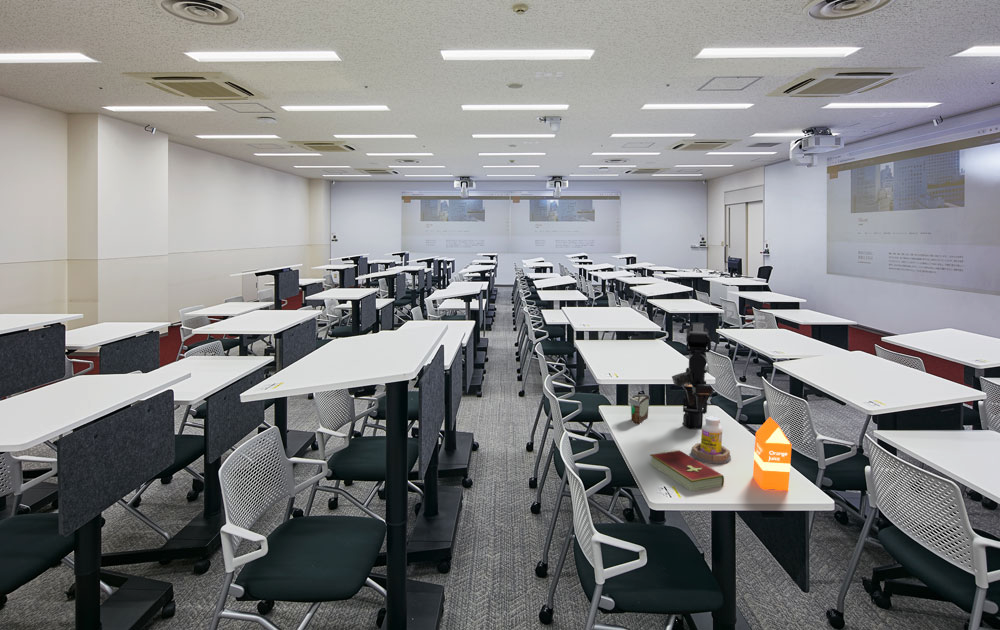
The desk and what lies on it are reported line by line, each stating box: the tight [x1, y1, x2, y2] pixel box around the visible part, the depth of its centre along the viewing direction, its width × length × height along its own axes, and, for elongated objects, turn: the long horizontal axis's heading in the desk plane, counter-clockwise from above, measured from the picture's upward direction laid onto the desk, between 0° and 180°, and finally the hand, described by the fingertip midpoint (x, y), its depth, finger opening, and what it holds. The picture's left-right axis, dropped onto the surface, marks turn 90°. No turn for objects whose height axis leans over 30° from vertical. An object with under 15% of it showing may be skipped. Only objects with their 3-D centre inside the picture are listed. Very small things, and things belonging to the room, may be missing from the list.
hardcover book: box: [650, 449, 725, 492], centre depth 170 cm, size 12×21×4 cm, turn 19°
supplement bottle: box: [700, 415, 723, 455], centre depth 184 cm, size 7×7×13 cm
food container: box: [629, 393, 651, 425], centre depth 223 cm, size 12×6×10 cm, turn 145°
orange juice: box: [752, 416, 793, 492], centre depth 163 cm, size 8×9×20 cm
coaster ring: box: [690, 442, 732, 465], centre depth 185 cm, size 13×13×3 cm
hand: (694, 408), depth 196 cm, fingers open, 9 cm apart
